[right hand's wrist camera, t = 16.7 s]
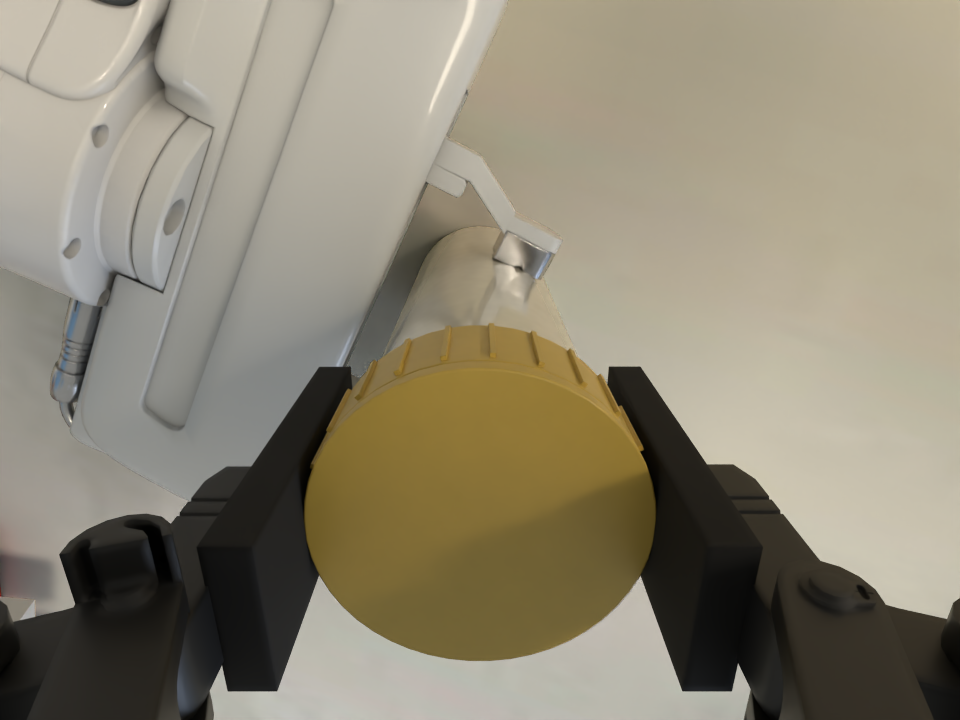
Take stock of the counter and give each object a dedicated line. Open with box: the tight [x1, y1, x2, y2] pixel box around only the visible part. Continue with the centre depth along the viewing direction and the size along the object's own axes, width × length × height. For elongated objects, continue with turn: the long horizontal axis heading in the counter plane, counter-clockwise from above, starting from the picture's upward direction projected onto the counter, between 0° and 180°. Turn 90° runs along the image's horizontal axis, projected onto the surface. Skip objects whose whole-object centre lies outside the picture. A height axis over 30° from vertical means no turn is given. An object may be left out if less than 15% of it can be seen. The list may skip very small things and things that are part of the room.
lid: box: [304, 323, 656, 661], centre depth 11 cm, size 6×6×2 cm
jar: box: [382, 226, 578, 357], centre depth 19 cm, size 6×6×16 cm
